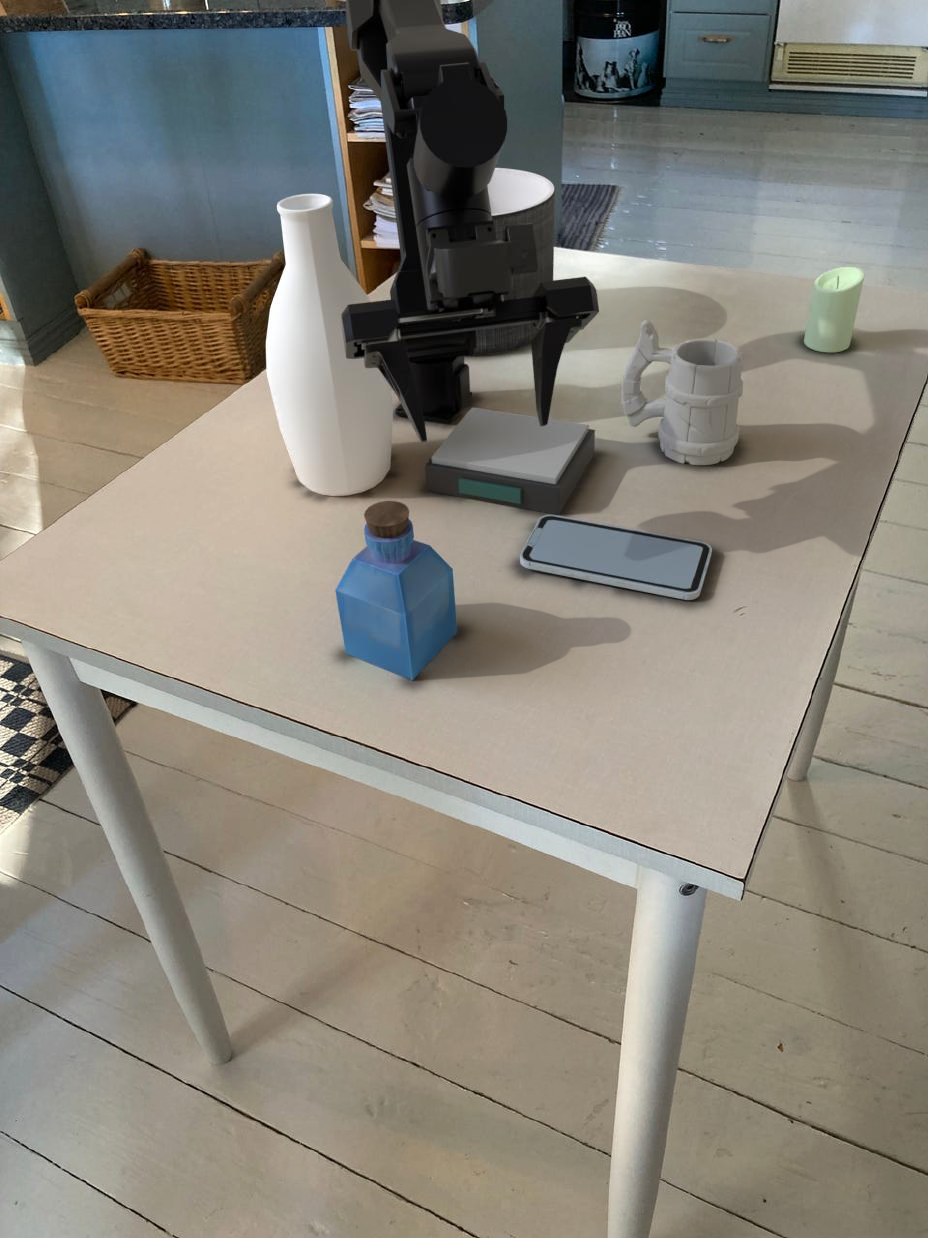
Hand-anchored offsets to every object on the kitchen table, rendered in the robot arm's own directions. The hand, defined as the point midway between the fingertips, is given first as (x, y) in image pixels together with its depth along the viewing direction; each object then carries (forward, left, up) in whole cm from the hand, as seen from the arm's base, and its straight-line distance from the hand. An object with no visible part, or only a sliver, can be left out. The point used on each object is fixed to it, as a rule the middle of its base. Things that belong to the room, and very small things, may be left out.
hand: (484, 433), depth 75 cm
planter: (-19, +46, -13) cm, 52 cm away
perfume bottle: (-3, -11, -13) cm, 17 cm away
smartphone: (+9, +5, -13) cm, 17 cm away
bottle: (-19, +10, -13) cm, 26 cm away
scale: (-4, +15, -13) cm, 21 cm away
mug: (+10, +25, -13) cm, 30 cm away
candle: (+21, +52, -13) cm, 58 cm away
